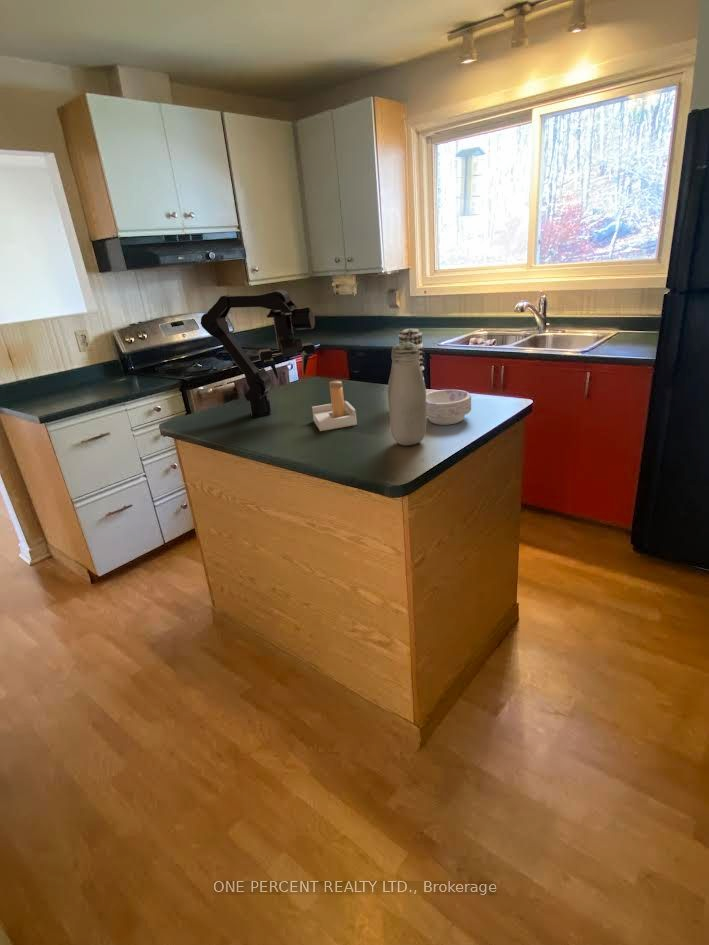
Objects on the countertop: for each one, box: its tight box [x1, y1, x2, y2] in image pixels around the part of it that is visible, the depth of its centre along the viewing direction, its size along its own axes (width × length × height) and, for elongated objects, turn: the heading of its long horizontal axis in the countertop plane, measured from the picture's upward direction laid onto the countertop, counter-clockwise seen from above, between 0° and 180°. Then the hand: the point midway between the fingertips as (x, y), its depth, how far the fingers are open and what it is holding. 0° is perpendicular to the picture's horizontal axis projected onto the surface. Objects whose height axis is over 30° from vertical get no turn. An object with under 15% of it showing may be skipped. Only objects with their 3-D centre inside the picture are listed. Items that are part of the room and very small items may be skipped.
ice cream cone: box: [329, 380, 345, 418], centre depth 165 cm, size 4×4×14 cm
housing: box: [311, 400, 358, 432], centre depth 167 cm, size 12×11×5 cm
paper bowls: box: [426, 389, 472, 426], centre depth 158 cm, size 15×15×8 cm
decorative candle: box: [398, 327, 426, 384], centre depth 175 cm, size 9×9×25 cm
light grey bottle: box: [387, 342, 427, 446], centre depth 139 cm, size 10×10×28 cm
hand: (290, 376), depth 177 cm, fingers open, 9 cm apart
